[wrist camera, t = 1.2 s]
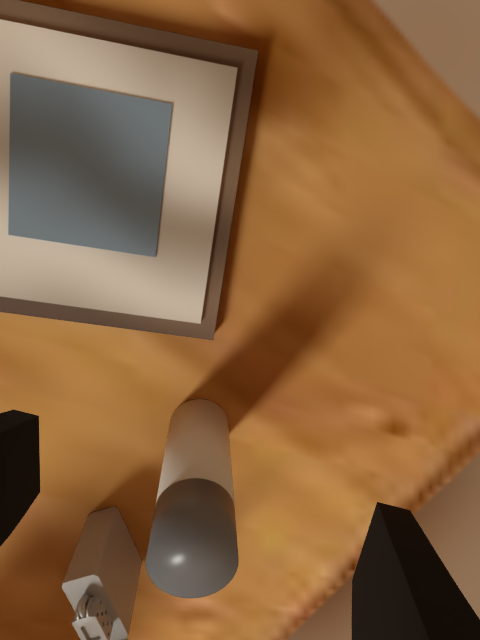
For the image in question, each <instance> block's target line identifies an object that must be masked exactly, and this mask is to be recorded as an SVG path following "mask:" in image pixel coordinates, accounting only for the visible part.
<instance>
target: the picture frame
mask: <svg viewBox="0 0 480 640" xmlns="http://www.w3.org/2000/svg"><path fill="white" fill-rule="evenodd" d="M257 56H258V50H253V49H248V48H243V47H239V46H234V45H229V44H224V43H220V42H215V41H210V40H205V39H201V38H196V37H191V36H186V35H182V34H177V33H172V32H167V31H163V30H158V29H153V28H148V27H144V26H139V25H134V24H129V23H125V22H120V21H115V20H110V19H105V18H101V17H96V16H91V15H86V14H82V13H77V12H72V11H67V10H63V9H58V8H53V7H48V6H44V5H39V4H34V3H29V2H25V1H20V0H0V312H5V313H13V314H20V315H28V316H35V317H43V318H50V319H58V320H65V321H73V322H80V323H88V324H95V325H103V326H110V327H118V328H125V329H133V330H140V331H148V332H155V333H163V334H171V335H178V336H186V337H193V338H201V339H208V340H213V339H214V333H215V326H216V320H217V313H218V307H219V301H220V294H221V288H222V281H223V275H224V268H225V262H226V256H227V249H228V243H229V236H230V230H231V223H232V217H233V210H234V204H235V198H236V191H237V185H238V178H239V172H240V165H241V159H242V153H243V146H244V140H245V133H246V127H247V120H248V114H249V108H250V101H251V95H252V88H253V82H254V75H255V69H256V63H257Z"/></svg>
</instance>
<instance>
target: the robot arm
mask: <svg viewBox="0 0 480 640" xmlns="http://www.w3.org/2000/svg"><path fill="white" fill-rule="evenodd" d="M39 493H40V460H39V416H37V415H33V414H29V413H25V412H21V411H17V410H11V411H7V412H4V413H0V546H1V545H2V544H3V543H4V541H5V540H6V539H7V538H8V537H9V536H10V534H11V533H12V531H13V530H14V529H15V527H16V526H17V524H18V523H19V522H20V520H21V519H22V518H23V516H24V515H25V513H26V512H27V510H28V509H29V507H30V506H31V504H32V503H33V502H34V500H35V499H36V497H37V496H38V494H39ZM352 640H480V620H479V618H478V616H477V615H476V613H475V612H474V610H473V609H472V607H471V606H470V604H469V603H468V602H467V600H466V598H465V597H464V595H463V594H462V592H461V591H460V589H459V588H458V586H457V585H456V583H455V581H454V580H453V578H452V577H451V576H450V574H449V572H448V570H447V569H446V567H445V566H444V564H443V562H442V561H441V559H440V558H439V556H438V555H437V553H436V551H435V550H434V548H433V547H432V545H431V543H430V542H429V540H428V539H427V537H426V535H425V534H424V532H423V530H422V529H421V527H420V526H419V524H418V522H417V521H416V520H415V518H414V516H413V515H412V513H411V511H410V510H406V509H402V508H399V507H395V506H391V505H387V504H383V503H379V502H377V505H376V508H375V511H374V514H373V517H372V520H371V523H370V526H369V530H368V533H367V536H366V539H365V542H364V545H363V548H362V551H361V554H360V558H359V561H358V564H357V567H356V570H355V573H354V576H353V581H352Z"/></svg>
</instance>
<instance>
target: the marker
mask: <svg viewBox="0 0 480 640" xmlns="http://www.w3.org/2000/svg"><path fill="white" fill-rule="evenodd" d="M237 567H238V547H237V534H236V521H235V507H234V494H233V481H232V468H231V454H230V441H229V428H228V419H227V416H226V414H225V412H224V411H223V409H222V408H221V407H220V406H218V405H217V404H215V403H214V402H211V401H209V400H204V399H195V400H190V401H187V402H185V403H183V404H181V405H180V406H179V407H178V408H177V409H176V410H175V411H174V413H173V414H172V417H171V420H170V425H169V431H168V436H167V442H166V448H165V454H164V459H163V465H162V471H161V476H160V482H159V488H158V493H157V499H156V505H155V510H154V516H153V522H152V528H151V533H150V539H149V545H148V550H147V556H146V570H147V573H148V575H149V577H150V579H151V580H152V582H153V583H154V584H155V585H156V586H157V587H158V588H159V589H161V590H162V591H164V592H166V593H168V594H170V595H173V596H176V597H181V598H199V597H205V596H208V595H211V594H213V593H216V592H217V591H219V590H221V589H222V588H224V587H225V586H226V585H227V584H228V583H229V582H230V581H231V580H232V578H233V577H234V575H235V573H236V571H237Z"/></svg>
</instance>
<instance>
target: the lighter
mask: <svg viewBox="0 0 480 640" xmlns="http://www.w3.org/2000/svg"><path fill="white" fill-rule="evenodd" d="M141 563H142V559H141V557H140V555H139V553H138V551H137V548H136V546H135V544H134V542H133V540H132V537H131V535H130V533H129V531H128V529H127V527H126V524H125V522H124V520H123V518H122V516H121V513H120V511H119V509H118V508H116V507H111V508H107V509H104V510H100V511H97V512H93V513H90V514H89V515H88V517H87V520H86V523H85V525H84V528H83V531H82V533H81V536H80V539H79V541H78V544H77V547H76V549H75V552H74V555H73V557H72V560H71V563H70V565H69V568H68V571H67V573H66V576H65V579H64V581H63V584H62V589H63V591H64V593H65V594H66V596H67V598H68V600H69V602H70V603H71V605H72V607H73V609H74V611H75V614H74V617H73V620H72V625H73V627H74V629H75V630H76V632H77V634H78V636H79V638H80V639H81V640H128V639H126V638H127V636H128V633H129V628H130V622H131V617H132V612H133V606H134V601H135V595H136V590H137V584H138V579H139V574H140V568H141Z"/></svg>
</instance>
